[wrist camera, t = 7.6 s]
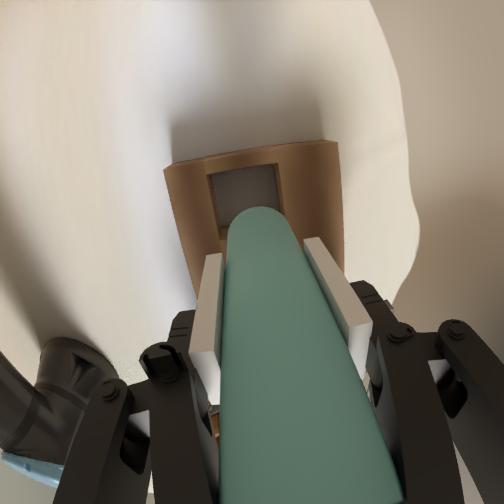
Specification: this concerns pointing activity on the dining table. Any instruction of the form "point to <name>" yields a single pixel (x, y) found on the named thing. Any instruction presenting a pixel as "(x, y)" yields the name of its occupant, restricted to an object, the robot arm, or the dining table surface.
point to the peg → (290, 383)
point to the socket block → (288, 189)
